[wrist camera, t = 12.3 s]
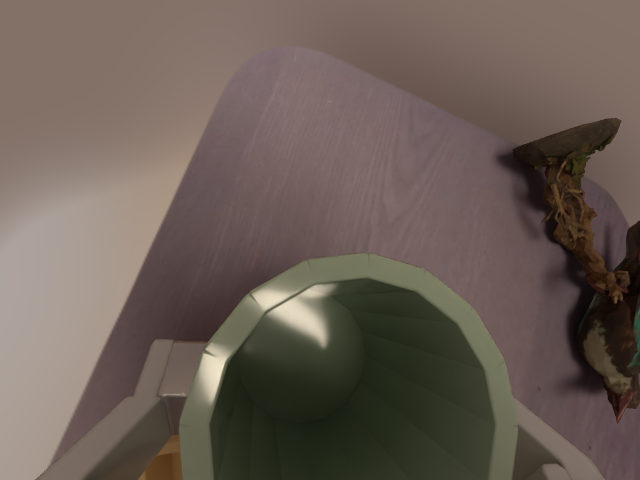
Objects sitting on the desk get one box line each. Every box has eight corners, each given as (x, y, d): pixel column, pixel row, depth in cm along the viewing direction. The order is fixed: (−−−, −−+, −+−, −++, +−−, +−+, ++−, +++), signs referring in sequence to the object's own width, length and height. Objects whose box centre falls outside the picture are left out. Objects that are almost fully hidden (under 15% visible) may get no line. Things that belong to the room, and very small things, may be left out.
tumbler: (235, 444, 14) (196, 688, 5) (220, 289, 15) (166, 275, 6) (381, 413, 15) (549, 569, 6) (359, 271, 16) (482, 238, 7)
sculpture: (572, 115, 24) (664, 461, 24) (641, 112, 32) (712, 377, 32) (470, 156, 31) (541, 424, 31) (546, 145, 39) (604, 362, 39)
